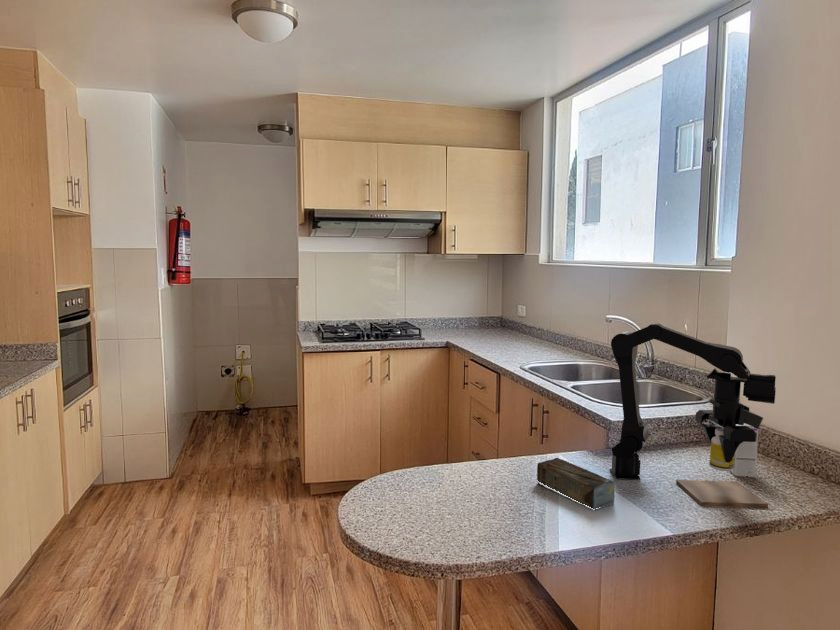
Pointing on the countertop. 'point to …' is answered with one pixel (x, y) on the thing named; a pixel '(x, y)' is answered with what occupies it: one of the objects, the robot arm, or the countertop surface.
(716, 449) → the supplement bottle
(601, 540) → the countertop surface
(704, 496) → the walnut board
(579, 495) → the beverage carton
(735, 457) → the syrup box
